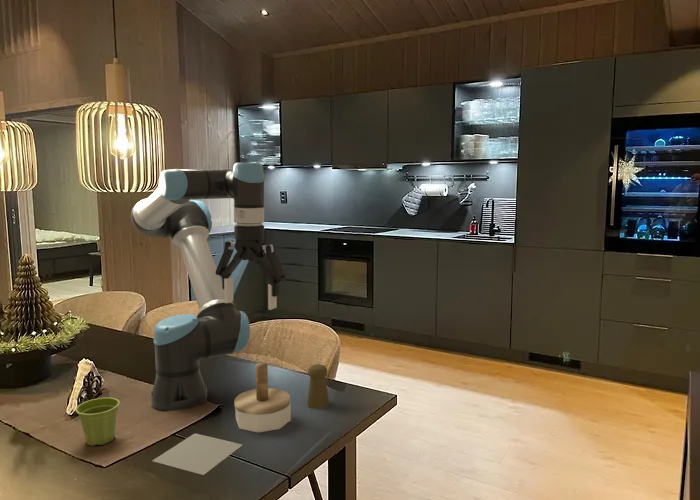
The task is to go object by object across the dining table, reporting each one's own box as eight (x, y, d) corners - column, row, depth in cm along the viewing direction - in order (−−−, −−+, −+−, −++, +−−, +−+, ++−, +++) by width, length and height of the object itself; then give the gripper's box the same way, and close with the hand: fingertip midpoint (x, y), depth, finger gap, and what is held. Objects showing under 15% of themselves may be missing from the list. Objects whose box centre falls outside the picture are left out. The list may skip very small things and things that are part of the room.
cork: (326, 409, 145) (325, 370, 143) (304, 407, 146) (303, 368, 144) (331, 400, 150) (331, 362, 149) (310, 398, 152) (310, 361, 150)
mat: (152, 463, 118) (151, 460, 118) (194, 435, 131) (194, 433, 130) (203, 477, 112) (203, 474, 112) (243, 446, 125) (243, 444, 125)
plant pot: (93, 453, 122) (91, 417, 121) (69, 443, 127) (67, 408, 126) (130, 437, 130) (128, 402, 129) (106, 427, 135) (103, 394, 134)
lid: (222, 408, 134) (221, 369, 132) (255, 388, 146) (254, 353, 145) (271, 418, 128) (270, 378, 127) (300, 396, 141) (299, 359, 139)
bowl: (226, 427, 135) (225, 408, 134) (256, 407, 146) (255, 389, 146) (271, 437, 129) (270, 417, 129) (298, 415, 141) (297, 397, 140)
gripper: (200, 222, 139) (202, 302, 142) (283, 228, 129) (283, 314, 132) (219, 219, 146) (220, 296, 149) (299, 225, 135) (299, 307, 139)
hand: (250, 305), depth 141 cm, fingers open, 13 cm apart
